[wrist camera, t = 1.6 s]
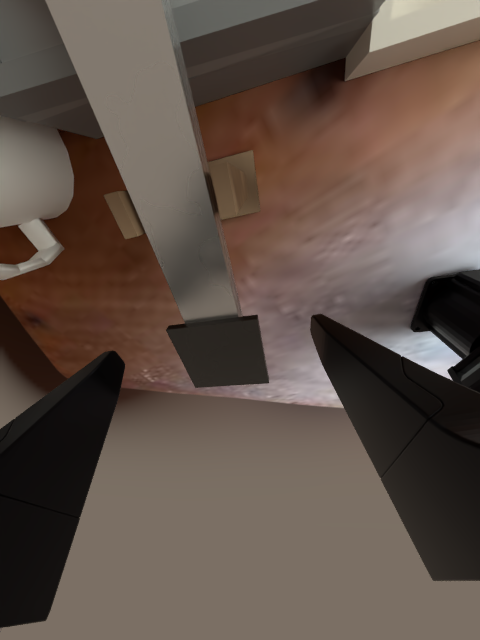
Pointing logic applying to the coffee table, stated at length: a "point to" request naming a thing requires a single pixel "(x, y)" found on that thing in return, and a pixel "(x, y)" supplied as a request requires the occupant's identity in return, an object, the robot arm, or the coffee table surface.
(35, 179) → the mug
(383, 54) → the cream square tray
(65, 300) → the coffee table surface
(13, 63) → the chute
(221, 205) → the lever stand
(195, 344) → the lever
